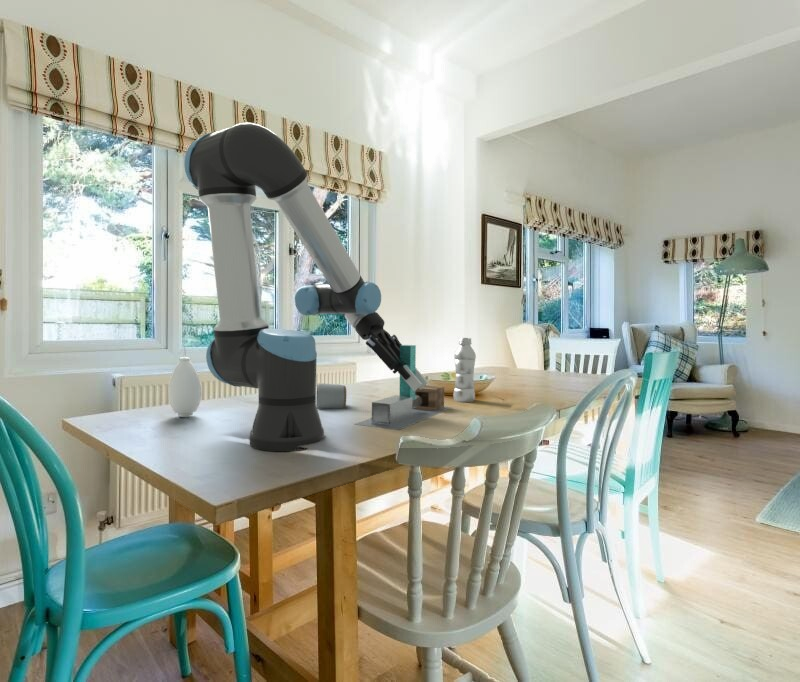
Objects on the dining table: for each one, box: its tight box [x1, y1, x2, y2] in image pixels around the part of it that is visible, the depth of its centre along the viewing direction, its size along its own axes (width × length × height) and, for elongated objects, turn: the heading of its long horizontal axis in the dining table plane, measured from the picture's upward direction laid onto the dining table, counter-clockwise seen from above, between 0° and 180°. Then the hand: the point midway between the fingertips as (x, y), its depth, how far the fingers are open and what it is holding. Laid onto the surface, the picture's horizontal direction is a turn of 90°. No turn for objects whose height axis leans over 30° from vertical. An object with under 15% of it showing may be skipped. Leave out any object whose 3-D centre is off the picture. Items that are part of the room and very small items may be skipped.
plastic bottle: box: [452, 337, 477, 403], centre depth 154 cm, size 6×7×20 cm
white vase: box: [167, 347, 202, 418], centre depth 131 cm, size 8×8×18 cm
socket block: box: [413, 384, 445, 411], centre depth 142 cm, size 6×8×6 cm
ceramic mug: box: [316, 382, 347, 410], centre depth 144 cm, size 11×8×8 cm
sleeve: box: [371, 394, 412, 426], centre depth 124 cm, size 12×5×5 cm, turn 153°
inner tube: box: [399, 344, 422, 409], centre depth 129 cm, size 17×3×17 cm, turn 153°
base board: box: [354, 406, 452, 431], centre depth 131 cm, size 32×12×1 cm, turn 153°
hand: (421, 386), depth 129 cm, fingers closed on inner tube, 3 cm apart
